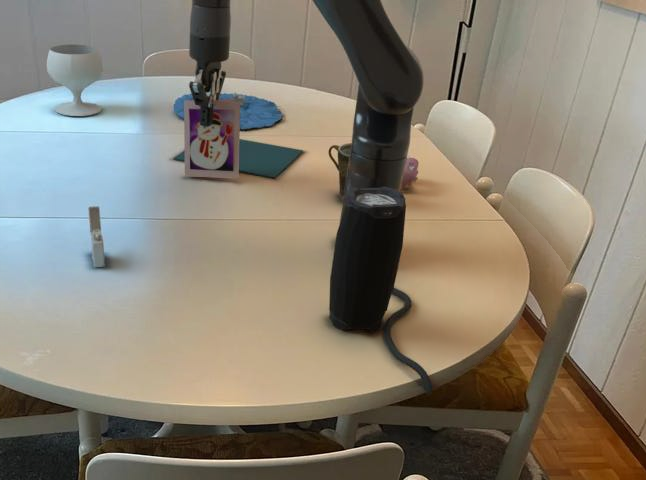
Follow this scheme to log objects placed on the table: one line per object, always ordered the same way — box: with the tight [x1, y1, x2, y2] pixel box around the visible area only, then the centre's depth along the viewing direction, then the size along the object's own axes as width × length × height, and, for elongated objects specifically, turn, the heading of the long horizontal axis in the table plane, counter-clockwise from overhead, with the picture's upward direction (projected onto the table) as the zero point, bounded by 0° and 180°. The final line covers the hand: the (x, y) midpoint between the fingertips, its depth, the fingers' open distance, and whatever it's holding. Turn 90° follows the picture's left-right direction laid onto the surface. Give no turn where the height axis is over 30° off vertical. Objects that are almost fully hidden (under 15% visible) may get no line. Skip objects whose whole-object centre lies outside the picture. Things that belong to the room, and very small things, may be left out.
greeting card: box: [183, 99, 241, 179], centre depth 148 cm, size 11×7×15 cm, turn 81°
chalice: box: [46, 44, 104, 117], centre depth 182 cm, size 14×14×15 cm
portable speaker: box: [328, 187, 407, 333], centre depth 100 cm, size 9×9×20 cm
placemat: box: [173, 138, 304, 180], centre depth 163 cm, size 20×24×1 cm
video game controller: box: [401, 155, 419, 190], centre depth 151 cm, size 10×5×7 cm, turn 168°
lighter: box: [87, 206, 106, 268], centre depth 116 cm, size 7×2×8 cm, turn 13°
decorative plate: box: [173, 91, 283, 130], centre depth 190 cm, size 30×30×5 cm
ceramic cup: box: [328, 142, 352, 202], centre depth 143 cm, size 13×10×10 cm
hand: (206, 125), depth 142 cm, fingers closed
